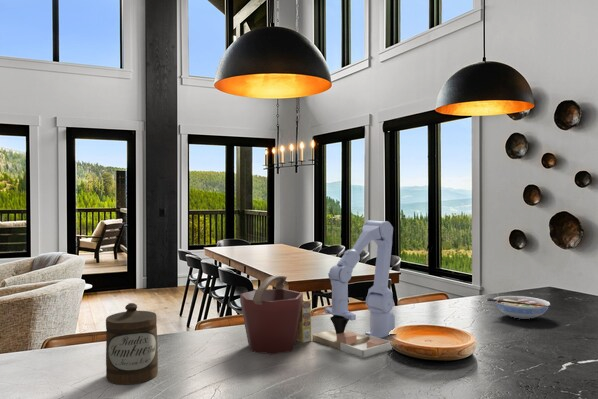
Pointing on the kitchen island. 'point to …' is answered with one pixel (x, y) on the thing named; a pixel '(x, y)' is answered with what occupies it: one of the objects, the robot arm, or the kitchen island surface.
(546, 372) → the kitchen island surface
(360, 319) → the kitchen island surface
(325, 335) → the board
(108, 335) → the wooden container
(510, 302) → the ramen bowl
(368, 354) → the tray
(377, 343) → the tile near
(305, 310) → the candy box
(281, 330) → the bucket
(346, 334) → the tile far
